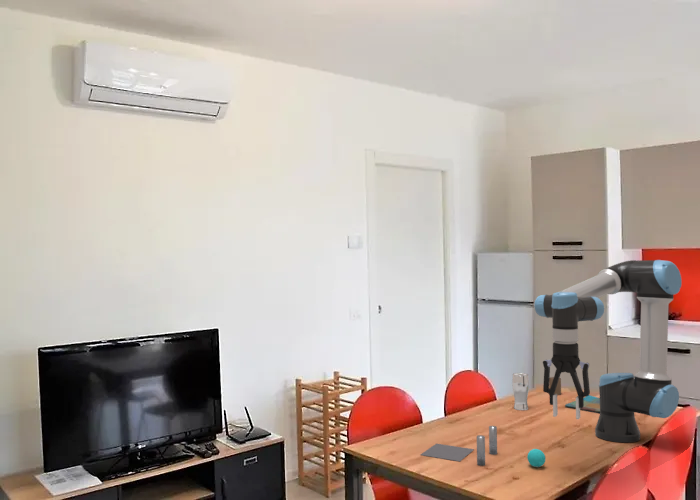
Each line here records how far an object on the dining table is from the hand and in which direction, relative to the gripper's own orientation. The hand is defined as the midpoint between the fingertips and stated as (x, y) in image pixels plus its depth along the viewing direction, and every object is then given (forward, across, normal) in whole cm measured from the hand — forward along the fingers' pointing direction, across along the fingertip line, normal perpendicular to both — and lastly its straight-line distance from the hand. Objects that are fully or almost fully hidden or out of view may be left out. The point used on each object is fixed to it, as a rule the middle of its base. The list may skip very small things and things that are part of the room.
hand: (566, 416), depth 190 cm
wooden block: (+17, +26, -106) cm, 111 cm away
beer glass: (+17, +34, -71) cm, 80 cm away
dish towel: (+18, +6, -91) cm, 93 cm away
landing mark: (+17, +40, 0) cm, 43 cm away
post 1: (+17, +26, +6) cm, 31 cm away
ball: (+14, +10, 0) cm, 17 cm away
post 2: (+17, +26, -6) cm, 31 cm away
